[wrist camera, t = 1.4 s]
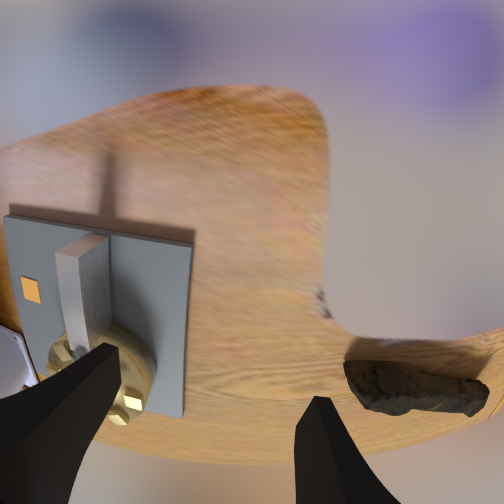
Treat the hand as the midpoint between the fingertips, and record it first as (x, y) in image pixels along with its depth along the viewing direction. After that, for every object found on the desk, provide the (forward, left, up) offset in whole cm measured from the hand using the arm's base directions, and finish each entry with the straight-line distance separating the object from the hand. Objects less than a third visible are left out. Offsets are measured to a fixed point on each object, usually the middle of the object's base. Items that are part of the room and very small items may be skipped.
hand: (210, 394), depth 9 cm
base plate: (-11, -6, -9) cm, 15 cm away
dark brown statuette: (+18, -8, -10) cm, 22 cm away
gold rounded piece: (-8, -5, -8) cm, 13 cm away
